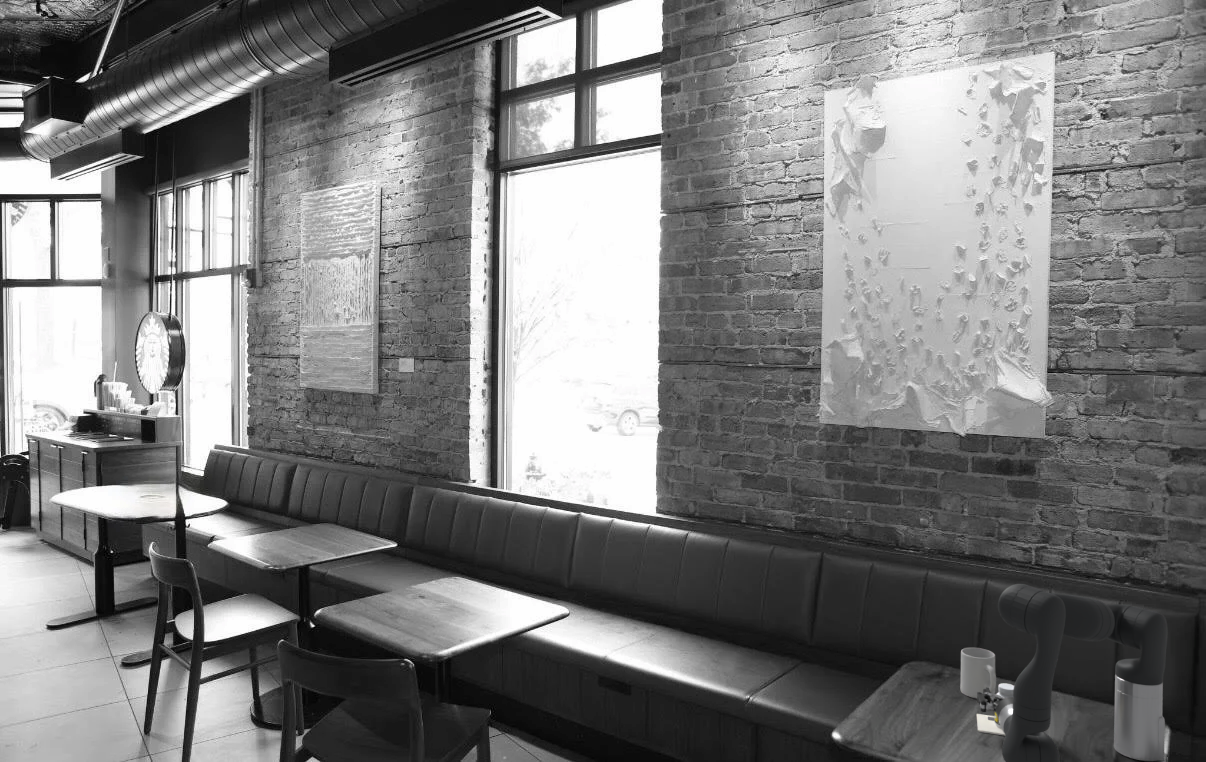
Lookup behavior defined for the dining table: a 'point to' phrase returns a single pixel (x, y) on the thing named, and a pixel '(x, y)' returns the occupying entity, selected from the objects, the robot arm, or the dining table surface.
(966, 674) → the mug
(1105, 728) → the dining table surface
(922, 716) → the dining table surface
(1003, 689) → the supplement bottle
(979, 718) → the letter card
